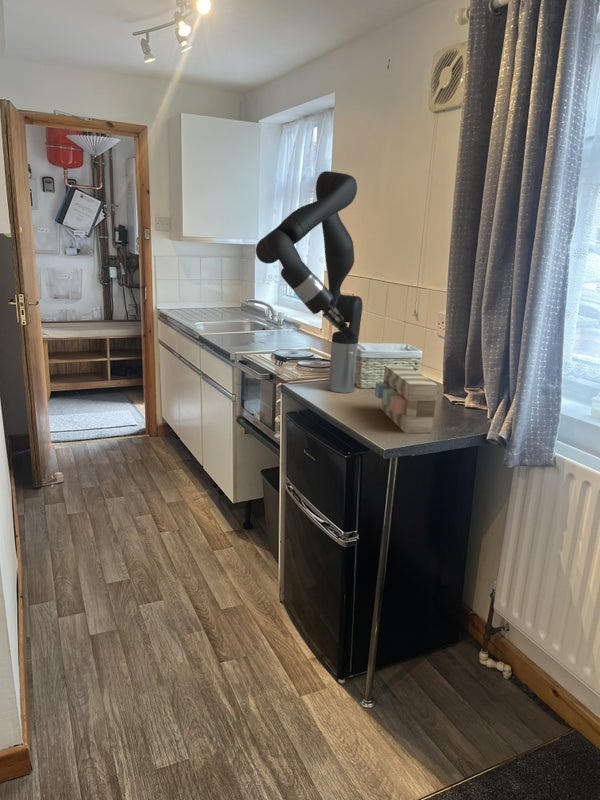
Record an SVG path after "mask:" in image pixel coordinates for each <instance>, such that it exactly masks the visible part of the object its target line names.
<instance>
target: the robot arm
mask: <svg viewBox="0 0 600 800" xmlns="http://www.w3.org/2000/svg"><path fill="white" fill-rule="evenodd" d="M357 192H358V183H357V180H356V179H355V177H354V176H353V175H350V174H347V173H342V172H337V171H328V170H327V171H322V172H321V173H320V174H319V175H318V177H317V180H316V183H315V195H316V201H314V202H310V203H308V204H306V205H303V206H300V207H299V208H297V209H295V210H294V211H293V212H291V213H290V214H289V215H288V216H287V217H285V219H283V220H282V221H281V223H279V224H278V226H277V227H275V228H274V229H273V230H272V231H270V232H268V233H267V234H266V235H265V236H264V237H262V238H261V239H260V240H259V241H258V242H257V244H256V247H255V255H256V257H257V258H258V260H259V261H260V262H262V263H264V264H273V263H275V262H277V261H279V262H280V264H281V266H282V269H281V271H280V275H281V278H282V279H283V280H284V282H286V283H287V285H288V286H289V287H290V288H291V289H292V291H293V292H294V293H295V295H296V296H297V298H299V300H300V301H301V302H302V303H303V304H304V305H305V306H306V308H307V309H308V310H309V311H310V312H311V314H313V315H315V314H319V313H320V312H321V311H322V316H323V318H324V319H325V320H327V321H328V322H329V323H330V324H331V325H332V326H334V327H335V328H336V329H337V330H338V331H334V332H333V333H332V336H331V343H330V344H331V347H330V360H329V373H328V387H327V389H328V390H329V391H331V392H334V393H342V394H344V393H345V394H346V393H354V391H355V385H356V384H355V374H356V362H357V350H358V342H359V338H360V337H359V336H360V329H361V322H362V315H363V300H362V298H361V296H357V295H348V294H342V293H341V287H342V285H343V282H344V281H345V279H346V278H347V276H348V275H349V273H350V272H351V270H352V268H353V266H354V264H355V251H354V249H355V248H354V241H353V239H352V236H351V234H350V233H349V231H348V229H347V227H346V226H345V223H343V221H342V219H341V217H340V215H339V212H341V211H342V210H344V209H346V208H347V207H349V206H350V205H351V204H352V203H353V201H354V200H355V198H356V196H357ZM320 224H321V228H322V235H323V242H324V244H323V245H324V257H325V265H326V271H327V280H328V281H327V282H328V287H326V286H325V285H324V283H323V282H322V281H321V280H320V279H319V277H318V276H317V275H315V274H314V273H313V272H312V270H310V268H309V267H308V266H307V264H305V263H304V262H303V260H302V258H301V256H300V253H299V252H298V250H297V248H296V246H295V244H298V242H300V241H301V240H302V239H303V238H305V237H306V236H307V235H308V234H309V233H310V232H311V231H312V230H314V228H316V227H317V226H319V225H320ZM348 323H349V324H348Z"/></svg>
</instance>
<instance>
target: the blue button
mask: <svg viewBox="0 0 600 800" xmlns="http://www.w3.org/2000/svg"><path fill="white" fill-rule="evenodd" d="M383 389H389V385H388V384H387V383H376V388H375V391H374V396H376V397H377V398H378V399H382V397H383Z"/></svg>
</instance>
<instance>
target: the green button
mask: <svg viewBox="0 0 600 800" xmlns="http://www.w3.org/2000/svg"><path fill="white" fill-rule="evenodd" d="M397 393H398V392H396V391H395V390H394V389H383V397H382V398H381V402H383V403H384V404H385V405H387V406H390V403H391V396H397Z"/></svg>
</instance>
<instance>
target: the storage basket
mask: <svg viewBox="0 0 600 800" xmlns="http://www.w3.org/2000/svg"><path fill="white" fill-rule="evenodd" d="M422 357H423V351H422V350H421V349H419V348H418V347H415V346H414V345H411V344H409V343H387V342H386V343H383V342H378V343H377V342H359V341H358V350H357V362H356V374H355V385H356V386H357V387H358V388H360V389H365V390H366V389H368V390H369V389H373V390H374V389H376V383H383V382H384V371H385V366H410V367H411V368H413V369H414V370H416V371H417V372H419V371H420V367H421V363H422V362H421V361H422ZM419 373H420V372H419Z"/></svg>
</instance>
